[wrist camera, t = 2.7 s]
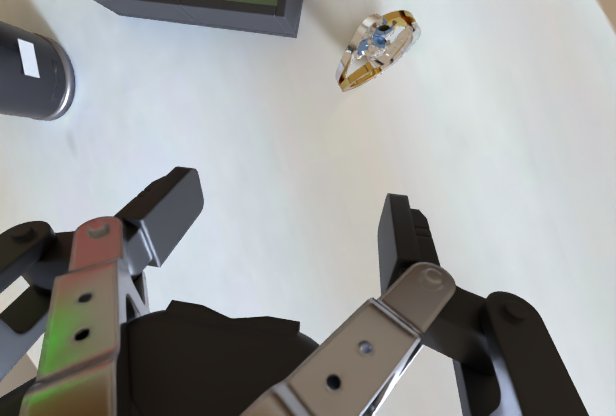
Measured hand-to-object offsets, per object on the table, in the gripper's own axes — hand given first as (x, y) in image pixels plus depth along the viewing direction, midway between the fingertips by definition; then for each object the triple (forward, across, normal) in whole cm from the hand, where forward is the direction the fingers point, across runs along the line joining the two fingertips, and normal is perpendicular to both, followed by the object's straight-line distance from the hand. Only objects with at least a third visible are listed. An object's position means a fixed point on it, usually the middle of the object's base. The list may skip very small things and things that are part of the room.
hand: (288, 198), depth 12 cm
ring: (+20, -4, -1) cm, 20 cm away
